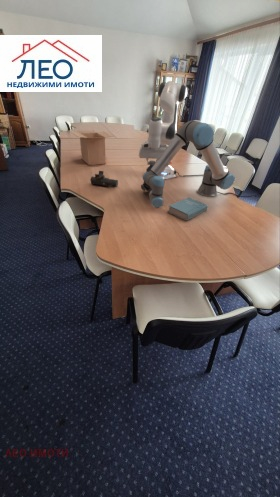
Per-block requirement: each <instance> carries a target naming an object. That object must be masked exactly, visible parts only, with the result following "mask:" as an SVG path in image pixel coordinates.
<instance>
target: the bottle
mask: <svg viewBox="0 0 280 497" xmlns="http://www.w3.org/2000/svg"><path fill="white" fill-rule="evenodd" d="M153 166H154V165H148V167H146V170H145V172H149V171H150V170H151V168H152V167H153ZM146 186H148V187H150V186H149V185H148V184H146ZM150 188H151V187H150ZM144 194H145V195H147V196H149V194H148V193H147V192H145V193H144Z"/></svg>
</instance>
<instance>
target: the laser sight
mask: <svg viewBox="0 0 280 497" xmlns="http://www.w3.org/2000/svg"><path fill="white" fill-rule="evenodd" d="M89 181H90V184H91V185H94V186H101V187H112V188H113V187H114V188H117V187H118V186H119V179H114V178H109V177H105V175H104V170H98V174H97V173H95V174H94V176H90V180H89Z"/></svg>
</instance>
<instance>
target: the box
mask: <svg viewBox="0 0 280 497" xmlns="http://www.w3.org/2000/svg"><path fill="white" fill-rule="evenodd" d="M70 133H71V134H72V135H74V136H75V137H77V138H79V144H80V153H81V160H83V162H85V163H86V165H87V166H95V165H97V166H98V165H106V163H107V162H106V158H107V157H106V138H113V137H114V136H113V135H111V134H109V133H108V132H105V131H98V132H96V131H95V130H92V129H91V130H77V132H76V131H70Z"/></svg>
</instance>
